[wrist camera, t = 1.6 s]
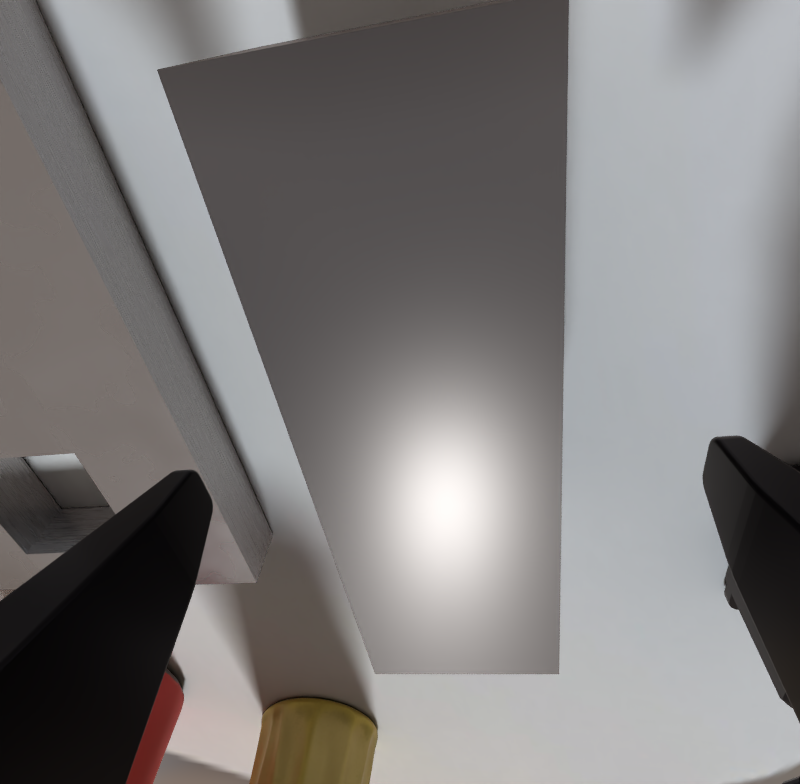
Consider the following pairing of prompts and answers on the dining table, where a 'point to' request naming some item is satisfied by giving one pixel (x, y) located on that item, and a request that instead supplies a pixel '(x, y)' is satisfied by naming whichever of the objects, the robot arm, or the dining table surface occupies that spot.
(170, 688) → the beer can
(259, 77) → the grey rectangular block
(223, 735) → the dining table surface
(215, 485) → the mount plate
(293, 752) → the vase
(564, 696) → the dining table surface
